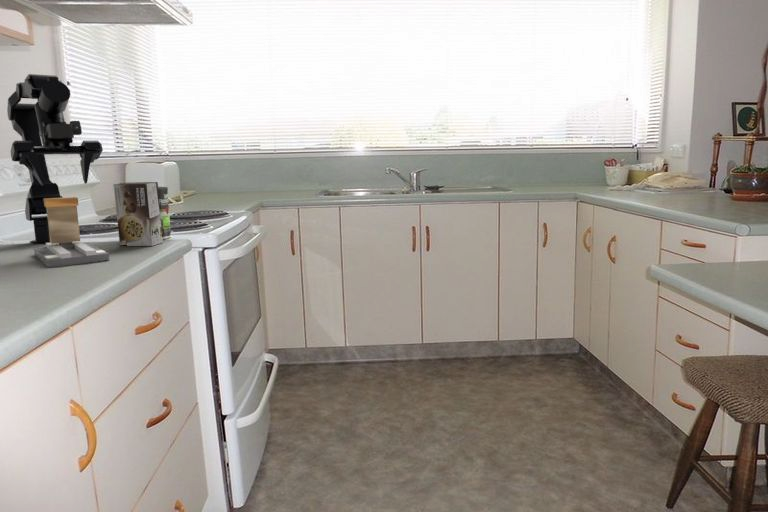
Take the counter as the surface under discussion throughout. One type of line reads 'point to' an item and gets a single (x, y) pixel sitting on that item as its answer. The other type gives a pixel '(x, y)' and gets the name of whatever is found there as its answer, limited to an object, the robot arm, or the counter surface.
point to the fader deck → (70, 254)
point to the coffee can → (164, 212)
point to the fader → (63, 220)
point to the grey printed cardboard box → (138, 213)
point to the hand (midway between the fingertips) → (64, 183)
